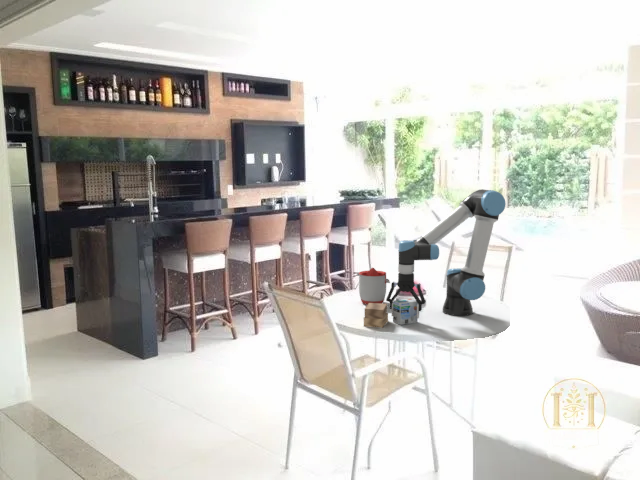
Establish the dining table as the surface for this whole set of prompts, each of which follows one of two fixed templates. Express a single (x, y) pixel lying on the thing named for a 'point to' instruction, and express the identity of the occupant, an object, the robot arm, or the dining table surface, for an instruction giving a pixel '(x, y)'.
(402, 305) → the light bulb box
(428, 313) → the dining table surface
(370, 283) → the citrus juicer
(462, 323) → the dining table surface
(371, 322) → the tower base
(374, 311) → the tower top
